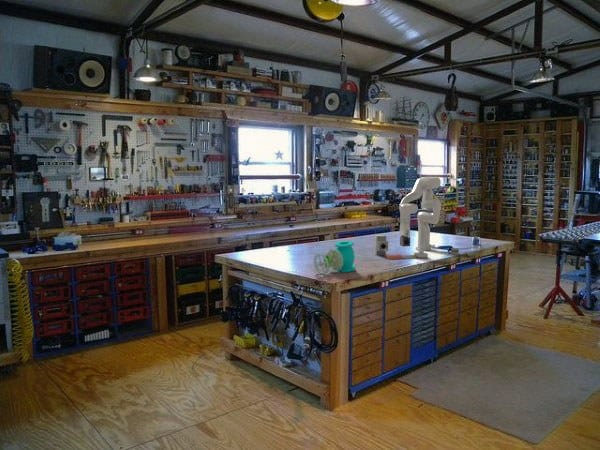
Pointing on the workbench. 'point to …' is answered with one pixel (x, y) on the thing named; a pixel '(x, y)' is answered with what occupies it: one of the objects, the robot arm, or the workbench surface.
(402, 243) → the socket
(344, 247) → the valve
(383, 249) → the circuit breaker
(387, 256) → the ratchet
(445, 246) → the workbench surface
